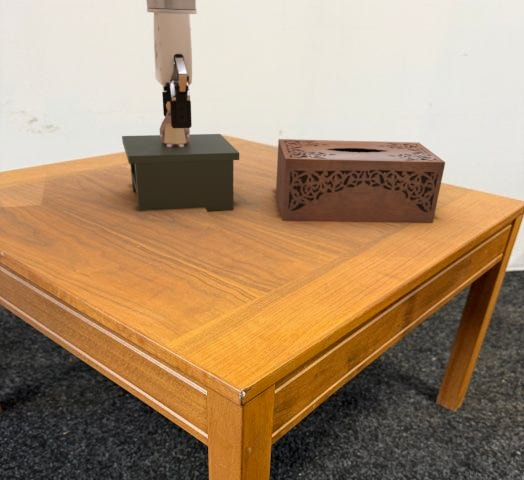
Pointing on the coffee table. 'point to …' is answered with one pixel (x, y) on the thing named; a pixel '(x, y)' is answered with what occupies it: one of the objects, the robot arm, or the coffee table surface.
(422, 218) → the tissue box cover
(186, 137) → the mouse figurine
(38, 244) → the coffee table surface
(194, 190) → the dark green lidded box
